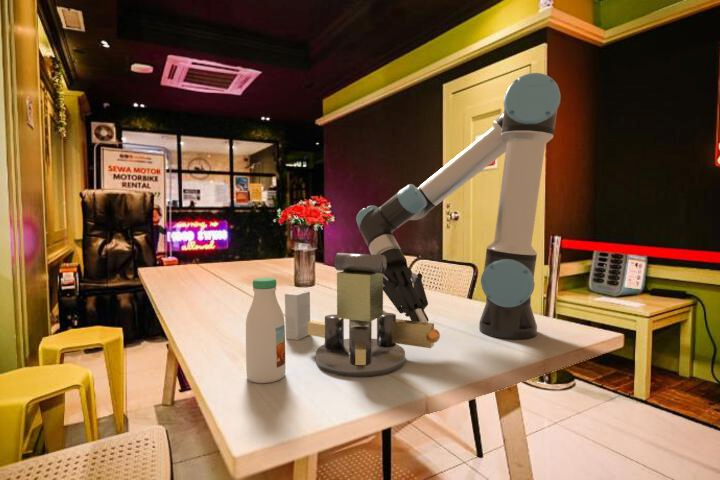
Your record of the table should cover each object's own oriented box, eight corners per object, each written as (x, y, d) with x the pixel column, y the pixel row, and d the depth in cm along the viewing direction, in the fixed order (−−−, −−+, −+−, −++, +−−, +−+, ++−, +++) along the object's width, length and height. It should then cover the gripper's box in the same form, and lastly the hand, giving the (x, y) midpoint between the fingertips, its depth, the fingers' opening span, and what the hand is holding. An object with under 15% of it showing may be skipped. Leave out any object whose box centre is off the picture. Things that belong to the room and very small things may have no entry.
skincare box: (297, 332, 117) (297, 289, 117) (310, 334, 115) (310, 291, 115) (284, 338, 112) (284, 293, 111) (298, 340, 110) (297, 295, 109)
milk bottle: (266, 387, 81) (264, 283, 79) (238, 379, 85) (236, 280, 83) (293, 374, 87) (292, 277, 86) (266, 367, 91) (264, 275, 90)
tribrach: (417, 353, 100) (417, 251, 99) (378, 389, 79) (378, 262, 78) (328, 339, 111) (328, 248, 109) (274, 369, 90) (272, 256, 88)
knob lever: (373, 346, 98) (373, 316, 97) (381, 340, 102) (381, 312, 101) (436, 355, 91) (436, 323, 91) (441, 349, 95) (442, 318, 95)
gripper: (402, 263, 116) (441, 339, 103) (361, 266, 109) (397, 348, 96) (414, 245, 111) (457, 323, 98) (372, 247, 104) (412, 331, 91)
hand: (427, 335), depth 97 cm, fingers closed
